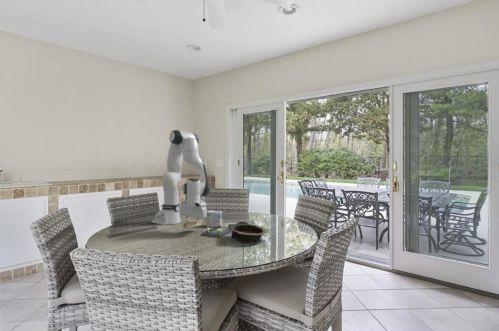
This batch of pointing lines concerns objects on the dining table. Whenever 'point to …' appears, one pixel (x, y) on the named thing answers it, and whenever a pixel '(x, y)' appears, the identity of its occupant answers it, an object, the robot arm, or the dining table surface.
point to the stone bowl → (247, 232)
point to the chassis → (217, 231)
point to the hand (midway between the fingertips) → (192, 223)
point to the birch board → (192, 224)
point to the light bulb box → (213, 218)
